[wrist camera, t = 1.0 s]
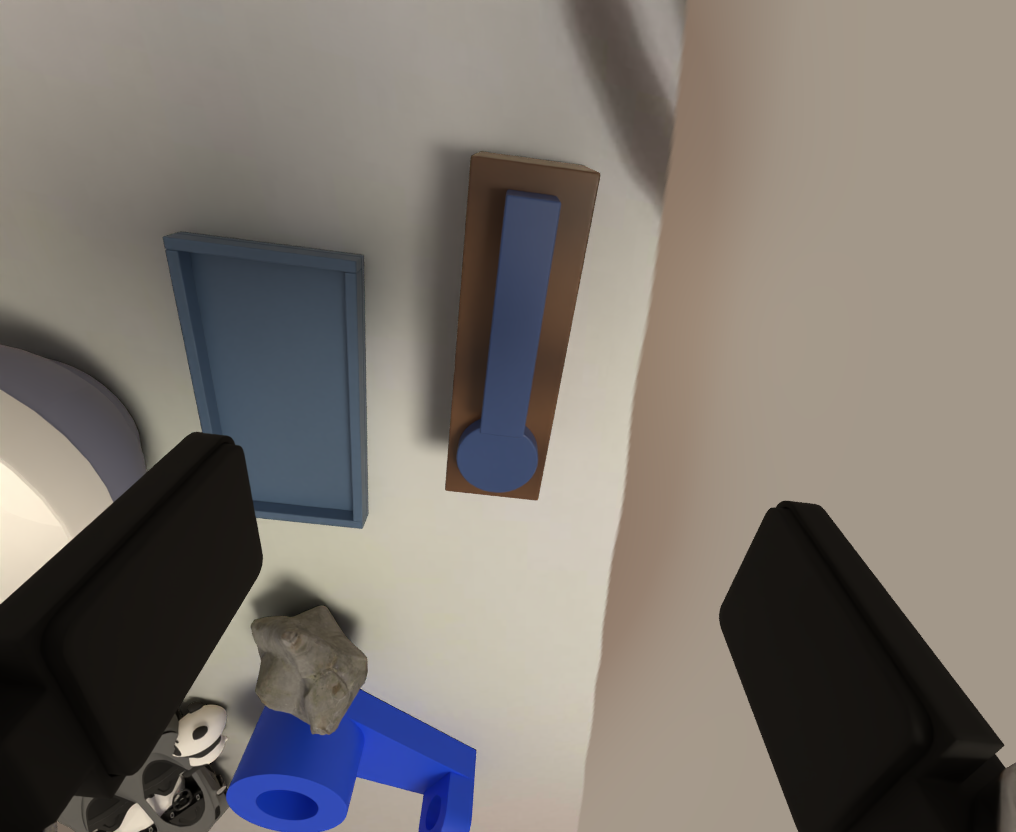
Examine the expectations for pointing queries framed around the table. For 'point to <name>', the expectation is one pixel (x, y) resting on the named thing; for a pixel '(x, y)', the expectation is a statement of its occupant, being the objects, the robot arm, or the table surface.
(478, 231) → the brown slab
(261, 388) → the blue tray
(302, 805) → the bracket
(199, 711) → the toy car
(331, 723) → the fossil
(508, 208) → the blue spoon
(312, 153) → the table surface
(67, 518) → the bowl
